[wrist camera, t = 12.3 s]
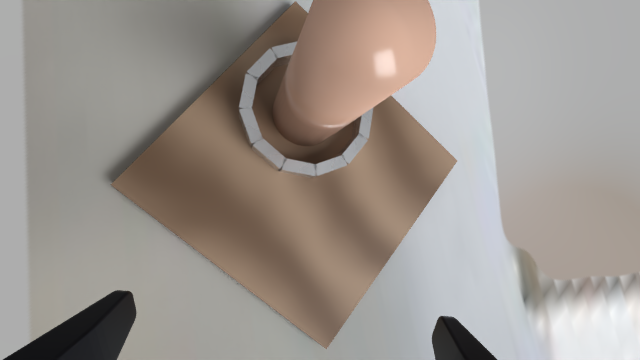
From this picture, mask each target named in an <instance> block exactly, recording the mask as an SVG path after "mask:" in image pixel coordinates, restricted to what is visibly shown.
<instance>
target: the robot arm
mask: <svg viewBox="0 0 640 360" xmlns="http://www.w3.org/2000/svg"><path fill="white" fill-rule="evenodd" d="M135 318H136V307H135V303H134V298H133V294H132V293H131V292H130V291H121V290H117V291H114V292H112V293H110V294H109V295H107V296H105V297H104V298H102V299H101V300H99V301H97V302H96V303H94V304H92V305H91V306H89V307H88V308H86V309H84V310H83V311H81V312H79V313H78V314H76V315H75V316H73V317H71V318H70V319H68V320H66V321H65V322H63V323H62V324H60V325H58V326H57V327H55V328H53V329H52V330H50V331H49V332H47V333H45V334H44V335H42V336H40V337H39V338H37V339H36V340H34V341H32V342H31V343H29V344H27V345H26V346H24V347H23V348H21V349H20V350H18V351H16V352H14V353H13V354H11V355H10V356H8V357H7V358H5V359H3V360H117V358H118V356H119V354H120V351H121V349H122V347H123V345H124V343H125V340H126V338H127V336H128V334H129V332H130V330H131V327H132V325H133V323H134V321H135ZM432 344H433V349H434V354H435V359H436V360H497V359H496V358H495V357H494V356H493V355H492V354H491V353H490V352H489V351H488V350H487V349H486V348H485V347H484V346H483V345H482V344H481V343H480V342H479V341H478V340H477V339H476V338H475V337H474V336H473V335H472V334H471V333H470V332H469V331H468V330H467V329H466V328H465V327H464V326H463V325H462V324H461V323H460V322H459V321H458V320H457V319H455V318H454V317H449V316H440V317H439V318H438V320H437V323H436V326H435V329H434V331H433V334H432Z"/></svg>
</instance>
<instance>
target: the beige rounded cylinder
mask: <svg viewBox="0 0 640 360" xmlns="http://www.w3.org/2000/svg"><path fill="white" fill-rule="evenodd" d="M435 43H436V25H435V19H434V15H433V12H432V9H431V6H430V4H429V2H428V0H313V2H312V5H311V7H310V10H309V13H308V15H307V18H306V20H305V23H304V26H303V28H302V31H301V33H300V36H299V38H298V41H297V44H296V46H295V49H294V51H293V54H292V57H291V59H290V62H289V64H288V67H287V70H286V72H285V75H284V77H283V80H282V82H281V85H280V88H279V90H278V93H277V95H276V98H275V101H274V104H273V120H274V123H275V125H276V128H277V129H278V131H279V132H280V134H281V135H282V136H283V137H284V138H286V139H287V140H288V141H290V142H291V143H294V144H296V145H300V146H313V145H317V144H319V143H321V142H323V141H325V140H326V139H328V138H329V137H330V136H332V135H333V134H335V133H336V132H338V131H339V130H341V129H342V128H344V127H345V126H347V125H348V124H350V123H351V122H352V121H354V120H355V119H357V118H358V117H360V116H361V115H363V114H364V113H366V112H367V111H369V110H370V109H372V108H373V107H374V106H376V105H377V104H379V103H380V102H382V101H383V100H385V99H386V98H388V97H389V96H391V95H392V94H394V93H395V92H396V91H398V90H399V89H401V88H402V87H404V86H405V85H407V84H408V83H410V82H411V81H413V80H414V79H415V78H417V77H418V76H419V75H420V74H421V73H422V72H423V71H424V70H425V68H426V67H427V65H428V64H429V62H430V60H431V58H432V55H433V52H434V48H435Z"/></svg>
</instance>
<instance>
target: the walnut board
mask: <svg viewBox="0 0 640 360" xmlns="http://www.w3.org/2000/svg"><path fill="white" fill-rule="evenodd" d="M307 15H308V13H307V12H306V11H305V10H304V9H303V8H302V7H301V6H300V5H299V4H298V3H297V2H296V1H295V2H294V3H293V4H292V5H291V6H290V7H289V8H288V9H287V10H286V11H285V12H284V13H283V14H282V15H281V16H280V17H279V18H278V19H277V20H276V21H275V22H274V23H273V24H272V25H271V26H270V27H269V28H268V29H267V30H266V31H265V32H264V33H263V34H262V35H261V36H260V37H259V38H258V39H257V40H256V41H255V42H254V43H253V44H252V45H251V46H250V47H249V48H248V49H247V50H246V51H245V52H244V53H243V54H242V55H241V56H240V57H239V58H238V59H237V60H236V61H235V62H234V63H233V64H232V65H231V66H230V67H229V68H228V69H227V70H226V71H225V72H224V73H223V74H222V75H221V76H220V77H219V78H218V79H217V80H216V81H215V82H214V83H213V84H212V85H211V86H210V87H209V88H208V89H207V90H206V91H205V92H204V93H203V94H202V95H201V96H200V97H199V98H198V99H197V100H196V101H195V102H194V103H193V104H192V105H191V106H190V107H188V108H187V109H186V110H185V111H184V112H183V113H182V114H181V115H180V116H179V117H178V118H177V119H176V120H175V121H174V122H173V123H172V124H171V125H170V126H169V127H168V128H167V129H166V130H165V131H164V132H163V133H162V134H161V135H160V136H159V137H158V138H157V139H156V140H155V141H154V142H153V143H152V144H151V145H150V146H149V147H148V148H147V149H146V150H145V151H144V152H143V153H142V154H141V155H140V156H139V157H138V158H137V159H136V160H135V161H134V162H133V163H132V164H131V165H130V166H129V167H128V168H127V169H126V170H125V171H124V172H123V173H122V174H121V175H120V176H119V177H118V178H117V179H116V180H115V181H114V182H113V183H112V184H111V185H112V186H113V187H114V188H116V189H117V190H118V191H120V192H121V193H122V194H124V195H125V196H126V197H127V198H129V199H130V200H131V201H133V202H134V203H135V204H137V205H138V206H139V207H141V208H142V209H143V210H145V211H146V212H147V213H148V214H150V215H151V216H152V217H154V218H155V219H156V220H158V221H159V222H160V223H162V224H163V225H164V226H165V227H167V228H168V229H169V230H171V231H172V232H173V233H175V234H176V235H177V236H179V237H180V238H181V239H183V240H184V241H185V242H186V243H188V244H189V245H190V246H192V247H193V248H194V249H196V250H197V251H198V252H200V253H201V254H202V255H204V256H205V257H206V258H207V259H209V260H210V261H211V262H213V263H214V264H215V265H217V266H218V267H219V268H221V269H222V270H223V271H225V272H226V273H227V274H228V275H230V276H231V277H232V278H234V279H235V280H236V281H238V282H239V283H240V284H242V285H243V286H244V287H246V288H247V289H248V290H249V291H251V292H252V293H253V294H255V295H256V296H257V297H259V298H260V299H261V300H263V301H264V302H265V303H267V304H268V305H269V306H270V307H272V308H273V309H274V310H276V311H277V312H278V313H280V314H281V315H282V316H284V317H285V318H286V319H288V320H289V321H290V322H291V323H293V324H294V325H295V326H297V327H298V328H299V329H301V330H302V331H303V332H305V333H306V334H307V335H309V336H310V337H311V338H312V339H314V340H315V341H316V342H318V343H319V344H320V345H322V346H323V347H324V348H326V349H327V347H328V346H329V345H330V343H331V342H332V340H333V339H334V337H335V336H336V334H337V333H338V332H339V330H340V329H341V327H342V326H343V324H344V323H345V322H346V320H347V319H348V317H349V316H350V314H351V313H352V311H353V310H354V309H355V307H356V306H357V304H358V303H359V301H360V300H361V299H362V297H363V296H364V294H365V293H366V291H367V290H368V288H369V287H370V286H371V284H372V283H373V281H374V280H375V278H376V277H377V276H378V274H379V273H380V271H381V270H382V268H383V267H384V266H385V264H386V263H387V261H388V260H389V258H390V257H391V255H392V254H393V253H394V251H395V250H396V248H397V247H398V245H399V244H400V243H401V241H402V240H403V238H404V237H405V235H406V234H407V232H408V231H409V230H410V228H411V227H412V225H413V224H414V222H415V221H416V220H417V218H418V217H419V215H420V214H421V212H422V211H423V210H424V208H425V207H426V205H427V204H428V202H429V201H430V199H431V198H432V197H433V195H434V194H435V192H436V191H437V189H438V188H439V187H440V185H441V184H442V182H443V181H444V179H445V178H446V176H447V175H448V174H449V172H450V171H451V169H452V168H453V166H454V165H455V164H456V162H457V160H456V159H455V158H454V157H453V156H452V155H451V154H450V153H449V152H448V151H447V150H446V149H445V148H444V147H443V146H442V145H441V144H440V143H439V142H438V141H437V140H436V139H435V138H434V137H433V136H432V135H431V134H430V133H429V132H428V131H427V130H426V129H425V128H424V127H423V126H422V125H421V124H420V123H418V122H417V121H416V120H415V119H414V118H413V117H412V116H411V115H410V114H409V113H408V112H407V111H406V110H405V109H404V108H403V107H402V106H401V105H400V104H399V103H398V102H397V101H396V100H395V99H394V98H393V97H392V96H389V97H388V98H386V99H385V100H383V101H382V102H380V103H379V104H377V105H376V106H374V107H373V113H372V120H371V127H370V134H369V138H368V139H367V140H368V141H367V142H366V143H365V145H364V146H363V147H362V148H361V150H360V151H359V152H358V153H357V155H356V156H355V157H354V158H353V160H352V161H351V162H350V163H349V164H348V165H347V166H344V167H341V168H338V169H336V170H333V171H330V172H327V173H325V174H322V175H319V176H316V177H313V178H312V177H311V178H308V177H303V176H298V175H293V174H288V173H283V172H279V170H275V169H274V168H273V167H272V166H271V165H270V164H268V163H267V162H266V161H265V160H264V159H263V158H261V157H260V156H259V155H258V154H257V153H256V152H254V151H253V150H252V147H250V145H249V142H248V140H247V137H246V134H245V131H244V128H243V126H242V123H241V120H240V117H239V104H240V99H241V94H242V90H243V85H244V80H245V75H246V74H247V71H248V70H249V69H250V68H251V67H252V66H253V65H254V64H255V63H256V62H257V61H258V60H259V59H260V58H261V57H262V56H263V55H264V54H265V53H266V52H267V50H268V49H269V48H270V49H271V48H272V47H275V46H279V45H284V44H288V43H293V42H297V41H298V38H299V36H300V33H301V31H302V28H303V26H304V23H305V20H306V18H307ZM287 67H288V64H287V65H283V66H279V67H275V68H274V69H273V70H272V71H271V72H270V73H269V74H268V75H267V76H266V77H265V78H264V79H263V80H262V81H261V82H260V83H259V84H258V85H257V86H256V90H255V95H254V100H253V105H252V110H253V113H254V116H255V118H256V121H257V124H258V127H259V130H260V132H261V135H262V138H263V139H264V140H266V141H267V142H268V143H269V144H270V145H271V146H273V147H274V148H275V149H276V150H277V151H278V152H279V153H281V154H282V155H283V156H284V157H285V158H287V159H292V160H297V161H302V162H306V163H311V164H318V163H321V162H323V161H326V160H329V159H332V158H335V157H336V156H337V155H338V154H339V153H340V151H341V150H342V149H343V148H344V146H345V145H346V144H347V143H348V142H349V140H350V139H351V137H352V130H353V124H354V121H352V122H351V123H350V124H348V125H347V126H345V127H344V128H342V129H341V130H339V131H338V132H336V133H335V134H333V135H332V136H330V137H329V138H328V139H326V140H325V141H323V142H321V143H319V144H317V145H313V146H300V145H296V144H294V143H291V142H290V141H288V140H287V139H286V138H284V137H283V136H282V135H281V134H280V132H279V131H278V129H277V128H276V125H275V123H274V120H273V104H274V101H275V98H276V95H277V93H278V90H279V88H280V85H281V82H282V80H283V77H284V75H285V72H286V70H287Z"/></svg>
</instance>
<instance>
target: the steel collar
mask: <svg viewBox="0 0 640 360" xmlns="http://www.w3.org/2000/svg"><path fill="white" fill-rule="evenodd" d="M296 44H297V42H293V43H288V44H284V45H279V46H275V47H272V48H271V49H270V48H269V49H268V50H267V52H266V53H265V54H264V55H263V56H262V57H261V58H260V59H259V60H258V61H257V62H256V63H255V64H254V65H253V66H252V67H251V68H250V69H249V70H248V71H247V74H246V75H245V80H244V85H243V90H242V94H241V99H240V104H239V117H240V120H241V123H242V126H243V128H244V131H245V134H246V137H247V140H248V142H249V145H250V147H252V150H253V151H254V152H256V153H257V154H258V155H259V156H260V157H261V158H263V159H264V160H265V161H266V162H267V163H268V164H270V165H271V166H272V167H273V168H274V169H275V170H279V172H283V173H288V174H293V175H298V176H303V177H308V178H311V177H312V178H313V177H316V176H319V175H322V174H325V173H327V172H330V171H333V170H336V169H338V168H341V167H344V166H347V165H348V164H349V163H350V162H351V161H352V160H353V158H354V157H355V156H356V155H357V153H358V152H359V151H360V150H361V148H362V147H363V146H364V145H365V143H366V142H367V141H368V140H367V139H368V138H369V134H370V127H371V120H372V113H373V108H372V109H370V110H369V111H367V112H366V113H364V114H363V115H361V116H360V117H358V118H357V119H355V120H354V124H353V130H352V137H351V139H350V140H349V142H348V143H347V144H346V145H345V146H344V148H343V149H342V150H341V151H340V153H339V154H338V155H337V156H336V157H335V158H332V159H329V160H326V161H323V162H321V163H318V164H311V163H306V162H302V161H297V160H292V159H287V158H285V157H284V156H283V155H282V154H281V153H279V152H278V151H277V150H276V149H275V148H274V147H273V146H271V145H270V144H269V143H268V142H267V141H266V140H264V139H263V138H262V135H261V132H260V130H259V127H258V124H257V121H256V118H255V116H254V113H253V110H252V105H253V100H254V95H255V90H256V86H257V85H258V84H259V83H260V82H261V81H262V80H263V79H264V78H265V77H266V76H267V75H268V74H269V73H270V72H271V71H272V70H273V69H274V68H275V67H279V66H283V65H287V64H289V62H290V59H291V57H292V54H293V51H294V49H295V46H296Z"/></svg>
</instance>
